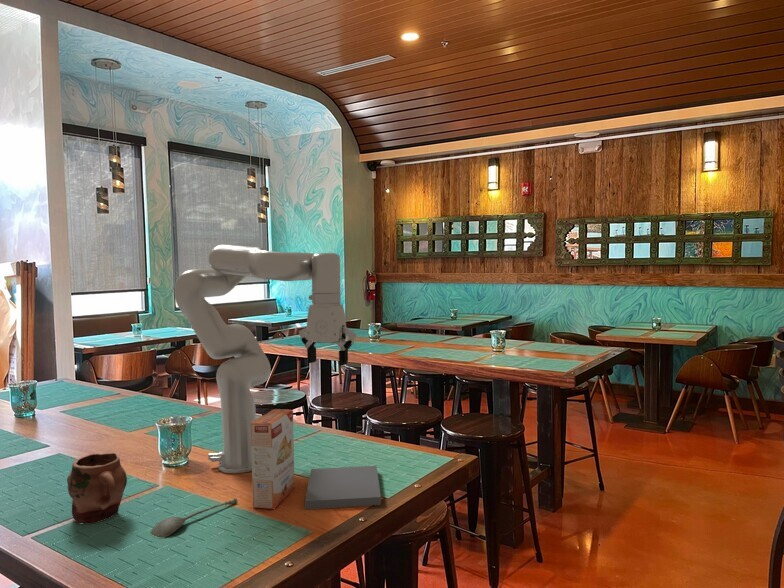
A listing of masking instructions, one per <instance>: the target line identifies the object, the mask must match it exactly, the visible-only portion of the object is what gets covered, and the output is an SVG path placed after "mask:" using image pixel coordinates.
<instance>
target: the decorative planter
mask: <svg viewBox="0 0 784 588" xmlns="http://www.w3.org/2000/svg"><path fill="white" fill-rule="evenodd" d="M121 464H122V463H121V459H120V456H118V454H117V453H113V452H112V453H111V452H110V453H109V452H105V453H89V454H86V455H84V456H81V457H79V458H77V459H75V460H74V461H73V462H72V464H71V472H70V473H69V474H68V476H67V478H66V482H67V491H68V495H69V496H70V498H71V514H72V518H73V520H74V521H75V523H77V522H78V523H77V524H79V523H92V524H95V523H99V522H98V521H100V522H102V521H101V520H103V521H105V520H107V518H108V519H110V518H112V517H114V516H116V514H118V513H119V509H120V505H121V503H122V500H123V496H124V491H125V489H126V487H127V484H128V483H127V482H128V477H127V474H126V473H127V472H126V470H125V469H124V467H123V466H122V465H121ZM113 515H114V516H113ZM111 516H112V517H111ZM109 517H110V518H109ZM104 519H105V520H104ZM94 522H95V523H94Z"/></svg>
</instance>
